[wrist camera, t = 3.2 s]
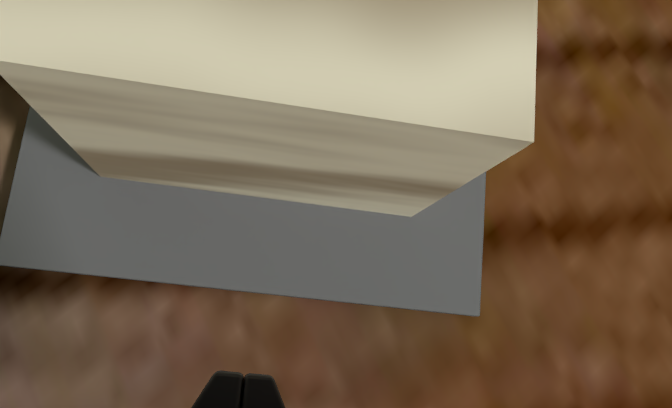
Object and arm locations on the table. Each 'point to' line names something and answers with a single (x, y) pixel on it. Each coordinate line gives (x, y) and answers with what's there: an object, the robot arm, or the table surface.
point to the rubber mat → (238, 236)
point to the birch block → (282, 92)
